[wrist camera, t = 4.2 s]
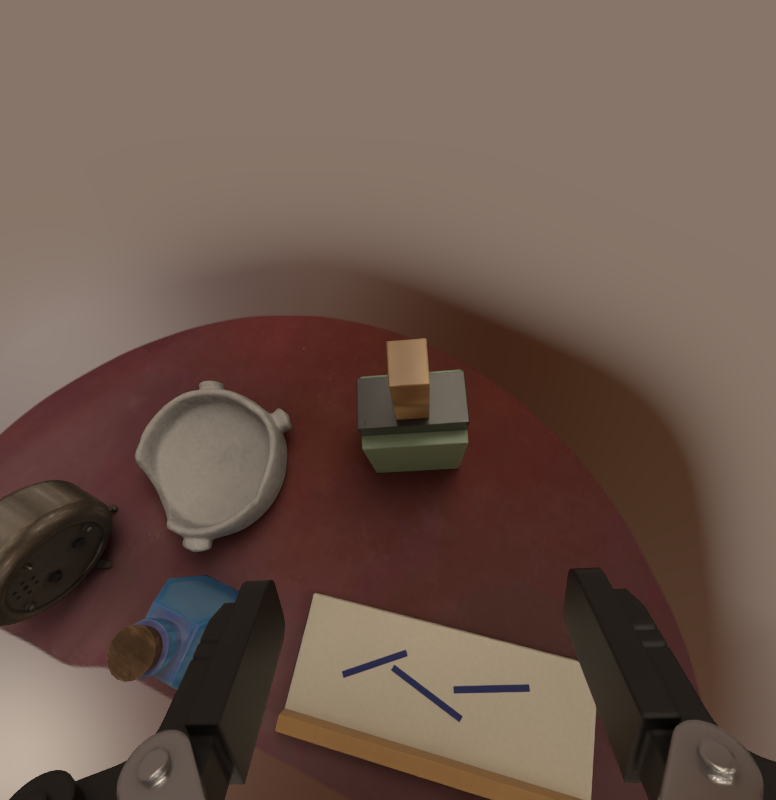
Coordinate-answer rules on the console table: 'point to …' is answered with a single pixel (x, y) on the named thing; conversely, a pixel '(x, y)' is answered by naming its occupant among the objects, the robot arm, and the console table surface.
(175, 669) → the perfume bottle
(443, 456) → the block
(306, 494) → the console table surface
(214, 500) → the dish
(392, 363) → the eraser
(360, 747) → the board
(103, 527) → the alarm clock
